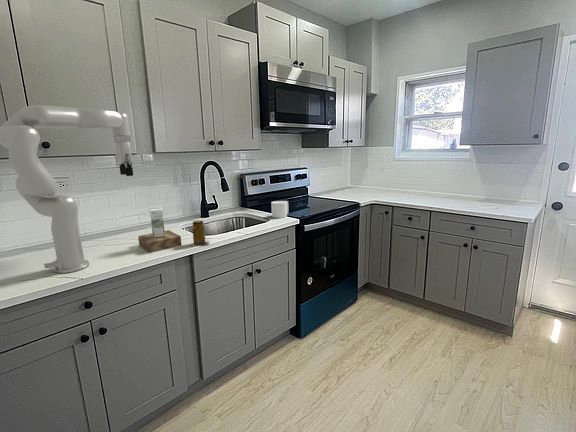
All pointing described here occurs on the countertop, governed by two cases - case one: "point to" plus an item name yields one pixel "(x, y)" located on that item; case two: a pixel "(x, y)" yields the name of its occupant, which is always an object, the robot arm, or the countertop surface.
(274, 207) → the toilet tissue
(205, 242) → the condiment
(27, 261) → the countertop surface
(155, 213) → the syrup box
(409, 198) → the countertop surface
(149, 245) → the block
